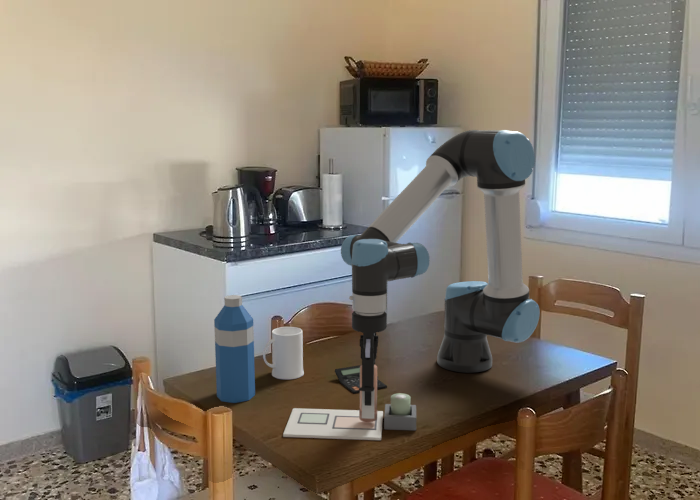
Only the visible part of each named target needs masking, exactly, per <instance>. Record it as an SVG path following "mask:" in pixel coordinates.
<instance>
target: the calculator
mask: <svg viewBox="0 0 700 500" xmlns="http://www.w3.org/2000/svg"><path fill="white" fill-rule="evenodd" d="M361 365H362V364H359V365H353V366H348V367H347V366H345V367H341V368H336V369H335V368H334V369H335V370H334V373H335V376H336V377H337V379H338V381H339V384H341V385H342V386H343V387H345V388H346V390H348V391H349V392H351V393H352V394H360V391H359V387H360V366H361ZM387 388H388V386H387V385H386V384H385V383H383V382H382V381H381V380H380V379H378V380H377V391H378V390H383V389H387Z"/></svg>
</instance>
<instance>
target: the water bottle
mask: <svg viewBox="0 0 700 500" xmlns="http://www.w3.org/2000/svg"><path fill="white" fill-rule="evenodd" d="M223 299H224V305H223V306H222V308H221V310H220V311H219V312H218V314H217V315H216V317H215V318H214V319H213V320H214V325H213V326H214V350H215V351H214V352H215V353H214V355H215V377H216V378H215V380H216V381H215V382H216V397H217V398H218V399H219V400H220V402H225V403H231V404H237V403H241V402H242V403H243V402H247V401H250V400H251V399H252V398H254V396H255V395H256V383H255V382H256V381H255V380H256V377H255V376H256V375H255V373H256V372H255V340H254V339H255V336H254V334H255V333H254V331H255V329H254V318H253V316H251V315H252V314H250V313H249V311H248V310H247V309H246V308H245V306H244V305H243V296H242V295H239V294H233V295H232V294H231V295H226V296H224V298H223Z"/></svg>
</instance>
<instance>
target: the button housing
mask: <svg viewBox="0 0 700 500" xmlns="http://www.w3.org/2000/svg"><path fill="white" fill-rule="evenodd" d="M383 419H384V420H383V421H384V422H383V427H384V428H383V430H389V431H393V430H394V431H417V405H416V404H410V415H391V403H384V414H383Z"/></svg>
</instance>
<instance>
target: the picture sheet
mask: <svg viewBox="0 0 700 500" xmlns="http://www.w3.org/2000/svg"><path fill="white" fill-rule="evenodd" d="M383 419H384V411H383V410H377V420H376V421H373V422H364V421H361V420H360V419H359V409H357V410H356V409H334V408H333V409H328V408H327V409H326V408H325V409H324V408H301V407H300V408H299V407H298V408H297V407H294V408H292V410H291V413H290V415H289V418H288V421H287V424H286V426H285V428H284V431H283V434H282V437H283V438H306V439H307V438H308V439H309V438H310V439H313V438H314V439H331V440H332V439H333V440H335V439H337V440H359V441H361V440H362V441H382V433H383V423H384V422H383V421H384V420H383Z"/></svg>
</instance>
